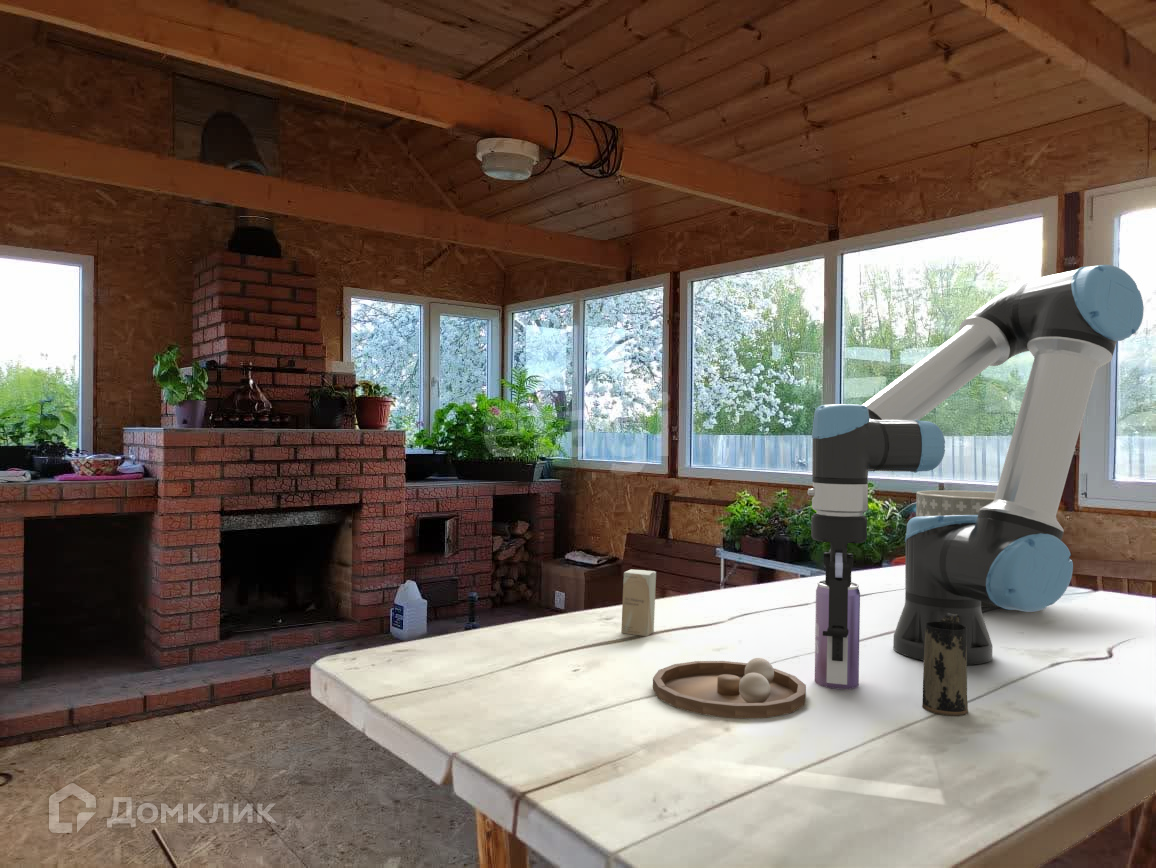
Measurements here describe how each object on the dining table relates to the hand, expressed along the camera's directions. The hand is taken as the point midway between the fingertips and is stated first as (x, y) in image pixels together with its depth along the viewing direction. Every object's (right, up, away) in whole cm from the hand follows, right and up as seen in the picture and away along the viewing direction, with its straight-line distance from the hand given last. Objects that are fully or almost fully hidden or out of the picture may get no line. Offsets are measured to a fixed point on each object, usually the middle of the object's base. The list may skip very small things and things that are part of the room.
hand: (836, 675), depth 116 cm
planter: (+51, -3, +65) cm, 83 cm away
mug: (+12, -2, -7) cm, 14 cm away
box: (-26, -2, +32) cm, 41 cm away
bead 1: (-12, -1, -3) cm, 12 cm away
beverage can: (0, -2, 0) cm, 2 cm away
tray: (-16, -2, -5) cm, 17 cm away
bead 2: (-14, -1, -10) cm, 17 cm away
